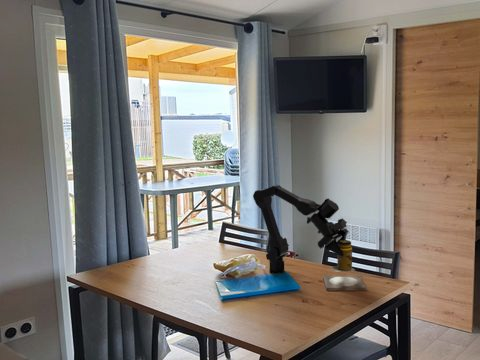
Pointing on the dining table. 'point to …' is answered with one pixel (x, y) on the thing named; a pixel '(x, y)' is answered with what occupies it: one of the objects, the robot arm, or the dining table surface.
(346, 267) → the condiment
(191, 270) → the dining table surface
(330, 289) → the grey flat square slab
